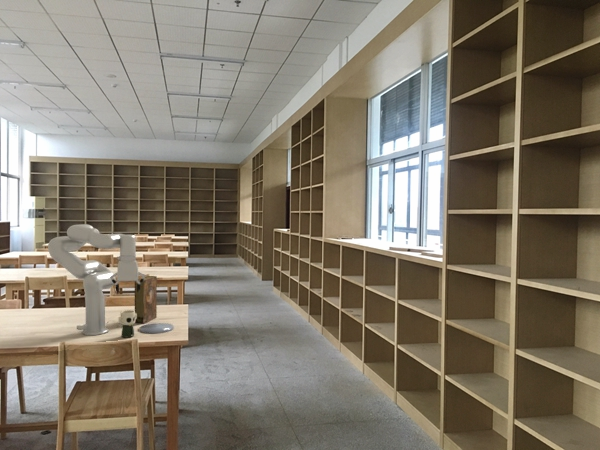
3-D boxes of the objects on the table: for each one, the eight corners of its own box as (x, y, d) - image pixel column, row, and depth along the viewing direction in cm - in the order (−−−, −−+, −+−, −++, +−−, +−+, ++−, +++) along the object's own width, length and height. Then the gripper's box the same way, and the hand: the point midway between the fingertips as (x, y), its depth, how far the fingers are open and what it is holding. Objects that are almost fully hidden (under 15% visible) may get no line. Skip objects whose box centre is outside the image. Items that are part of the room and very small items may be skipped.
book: (149, 316, 287) (149, 275, 286) (157, 317, 286) (157, 276, 285) (134, 323, 271) (134, 280, 270) (143, 324, 270) (143, 280, 269)
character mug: (123, 340, 238) (123, 314, 237) (114, 337, 242) (114, 312, 241) (141, 335, 247) (141, 310, 247) (132, 333, 251) (132, 308, 250)
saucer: (138, 334, 249) (138, 332, 249) (140, 325, 266) (140, 324, 266) (173, 332, 254) (173, 330, 254) (173, 324, 271) (173, 322, 271)
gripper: (109, 259, 237) (109, 293, 238) (145, 259, 242) (145, 292, 242) (110, 258, 244) (110, 291, 245) (145, 257, 249) (145, 289, 250)
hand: (128, 291), depth 244 cm, fingers open, 9 cm apart
